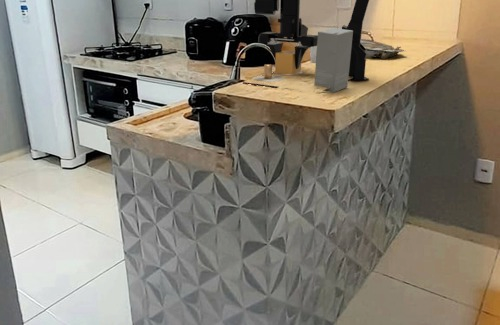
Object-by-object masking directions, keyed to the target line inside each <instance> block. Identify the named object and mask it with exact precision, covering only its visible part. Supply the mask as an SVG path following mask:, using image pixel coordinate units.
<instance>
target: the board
mask: <svg viewBox="0 0 500 325" xmlns="http://www.w3.org/2000/svg"><path fill="white" fill-rule="evenodd" d="M303 72H304V71H302V70H301V72H298V73H295V74H283V73H275V70H273V73H274V74H276V75H272V79H264V75H259V76H258V75H257V76H254V77H252V80H253V81H256V82H263V83H264V82H265V83H266V82H267V83H269V82H274V83H275V82H280V81H283V80H284V79H285V78H284V77H282V76H294V75H301V74H303ZM278 75H280V76H278ZM281 75H282V76H281ZM242 84H243V85H248V84H251V85H250V86H256V85H258V86H257V87H263V86H265V87H266V88H271V89H272V88H273V89H278V88H279V86H278V85H270V84H269V85H268V84H262V83H254V82H246V81H242ZM265 87H264V88H265Z"/></svg>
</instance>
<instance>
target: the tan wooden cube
mask: <svg viewBox="0 0 500 325" xmlns="http://www.w3.org/2000/svg"><path fill="white" fill-rule="evenodd" d="M274 71H275V73H283V74H295V73H298V72H301V71H302V62H301V63H300V66H299V68H298V69H296V66H295V50H294V51H293V50H281V52H277V53H276V60H275V70H274ZM275 73H274V74H275Z"/></svg>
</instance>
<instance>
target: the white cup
mask: <svg viewBox="0 0 500 325" xmlns="http://www.w3.org/2000/svg"><path fill="white" fill-rule="evenodd" d="M311 35H318V33H316V34H315V33H313V34H311ZM316 54H317V46H314V47H310V48H309V56H310V64H316Z"/></svg>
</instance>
